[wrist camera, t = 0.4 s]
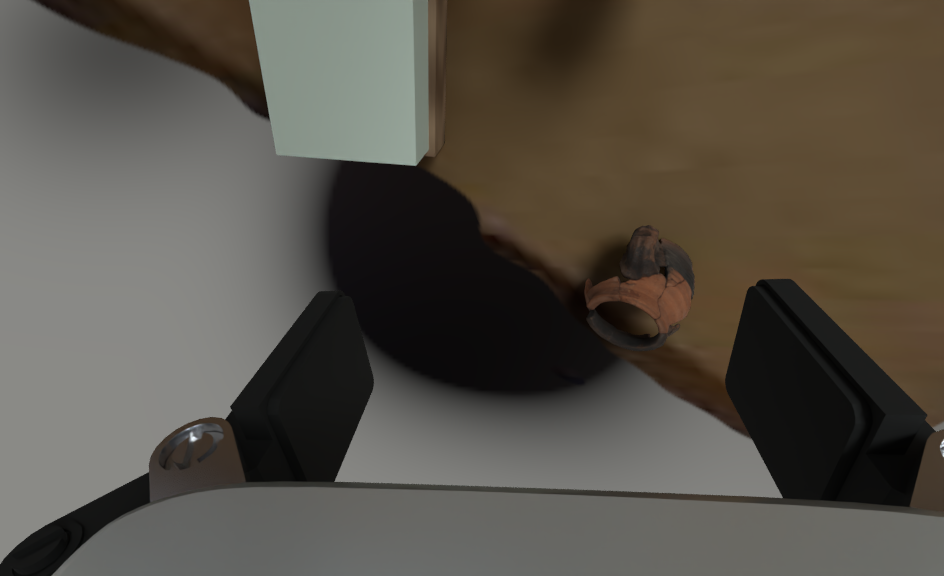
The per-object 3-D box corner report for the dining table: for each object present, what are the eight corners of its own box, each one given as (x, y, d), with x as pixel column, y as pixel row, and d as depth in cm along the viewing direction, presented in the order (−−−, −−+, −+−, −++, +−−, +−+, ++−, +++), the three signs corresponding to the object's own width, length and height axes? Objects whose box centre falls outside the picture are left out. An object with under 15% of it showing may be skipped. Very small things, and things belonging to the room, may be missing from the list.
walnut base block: (305, -16, 34) (274, -22, 30) (448, -9, 34) (436, -13, 29) (323, 132, 40) (298, 145, 36) (445, 142, 39) (435, 157, 35)
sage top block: (282, -12, 30) (246, -16, 27) (428, -5, 30) (412, -8, 26) (303, 140, 36) (276, 155, 32) (428, 149, 35) (416, 165, 31)
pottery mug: (700, 302, 44) (682, 368, 40) (606, 288, 49) (579, 345, 45) (704, 200, 37) (681, 267, 32) (592, 196, 42) (558, 254, 37)
